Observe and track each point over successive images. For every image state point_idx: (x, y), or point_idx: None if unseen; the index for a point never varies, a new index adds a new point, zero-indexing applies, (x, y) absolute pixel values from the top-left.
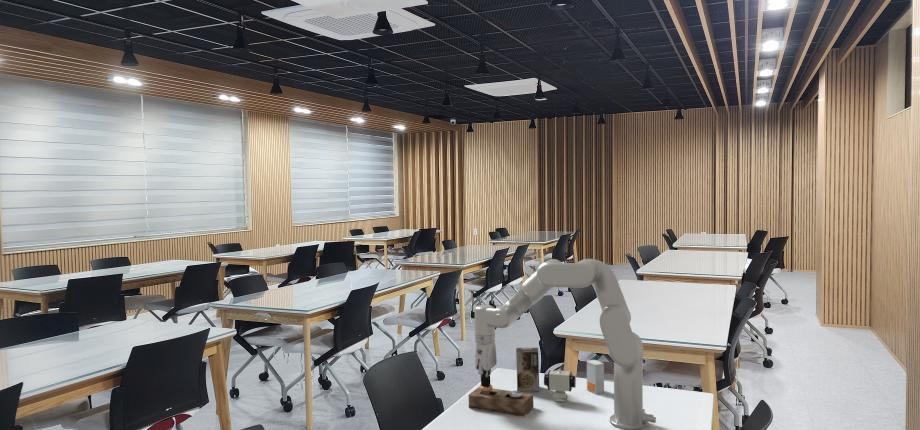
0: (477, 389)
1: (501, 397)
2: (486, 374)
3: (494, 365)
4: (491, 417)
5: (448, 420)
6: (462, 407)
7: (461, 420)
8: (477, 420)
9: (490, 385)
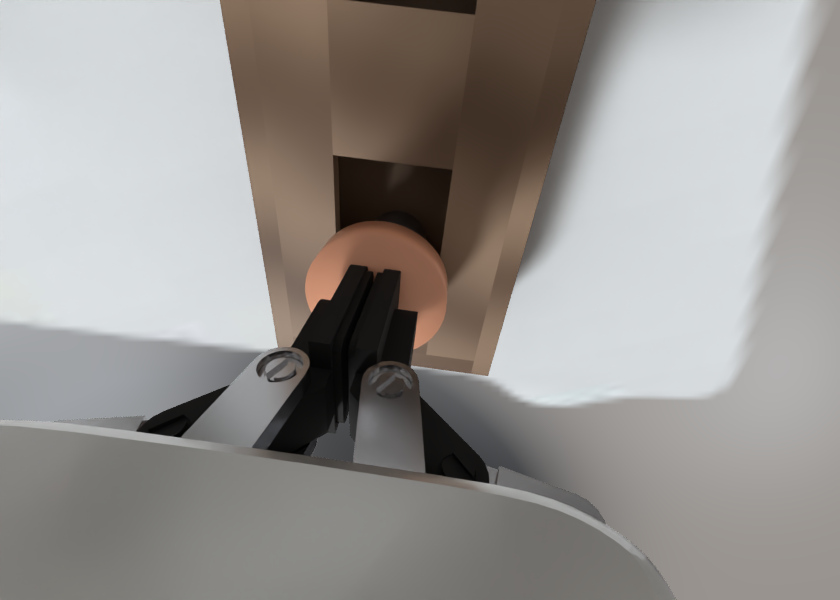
0: None
1: (504, 44)
2: (418, 412)
3: (70, 448)
4: (664, 101)
5: (704, 363)
6: None
7: (713, 300)
8: (727, 199)
9: (333, 264)
